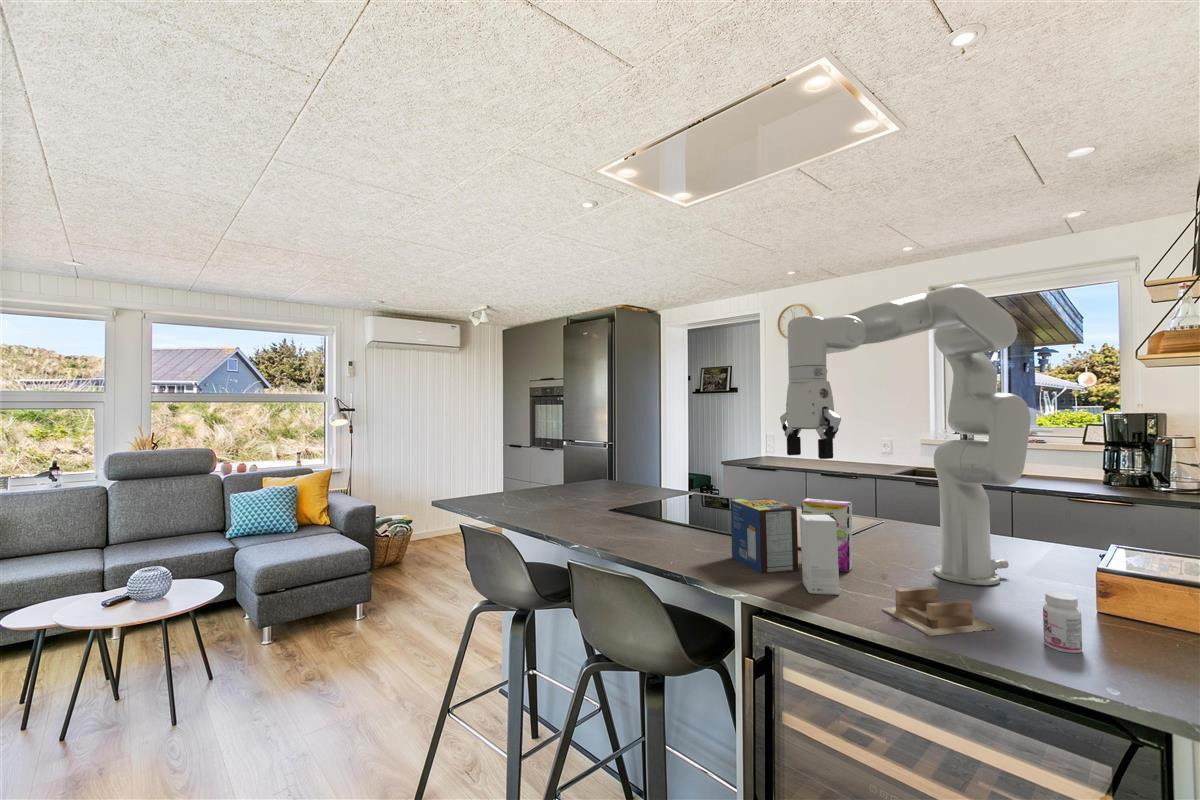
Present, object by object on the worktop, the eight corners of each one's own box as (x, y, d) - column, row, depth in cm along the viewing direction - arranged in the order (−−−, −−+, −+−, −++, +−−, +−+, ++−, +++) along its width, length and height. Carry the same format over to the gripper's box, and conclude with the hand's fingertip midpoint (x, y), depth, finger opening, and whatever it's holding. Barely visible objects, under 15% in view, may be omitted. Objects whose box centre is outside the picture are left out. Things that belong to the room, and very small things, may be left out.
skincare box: (840, 596, 112) (838, 521, 112) (806, 594, 113) (805, 520, 114) (831, 583, 120) (829, 513, 121) (800, 581, 122) (798, 513, 122)
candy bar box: (801, 566, 133) (800, 500, 134) (805, 561, 138) (804, 497, 138) (850, 573, 127) (849, 504, 128) (853, 568, 132) (852, 501, 132)
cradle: (940, 605, 106) (939, 583, 106) (994, 629, 94) (994, 604, 94) (881, 610, 104) (881, 587, 104) (930, 635, 92) (929, 610, 92)
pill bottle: (1035, 641, 89) (1034, 590, 89) (1062, 640, 90) (1060, 589, 90) (1063, 654, 84) (1061, 600, 85) (1090, 653, 85) (1089, 599, 85)
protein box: (766, 554, 145) (765, 497, 145) (799, 571, 130) (797, 507, 130) (730, 557, 142) (729, 499, 143) (759, 574, 127) (758, 509, 128)
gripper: (852, 372, 106) (855, 459, 105) (795, 378, 122) (796, 453, 122) (822, 372, 103) (824, 461, 103) (767, 378, 120) (768, 454, 119)
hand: (809, 456), depth 112 cm, fingers open, 9 cm apart
